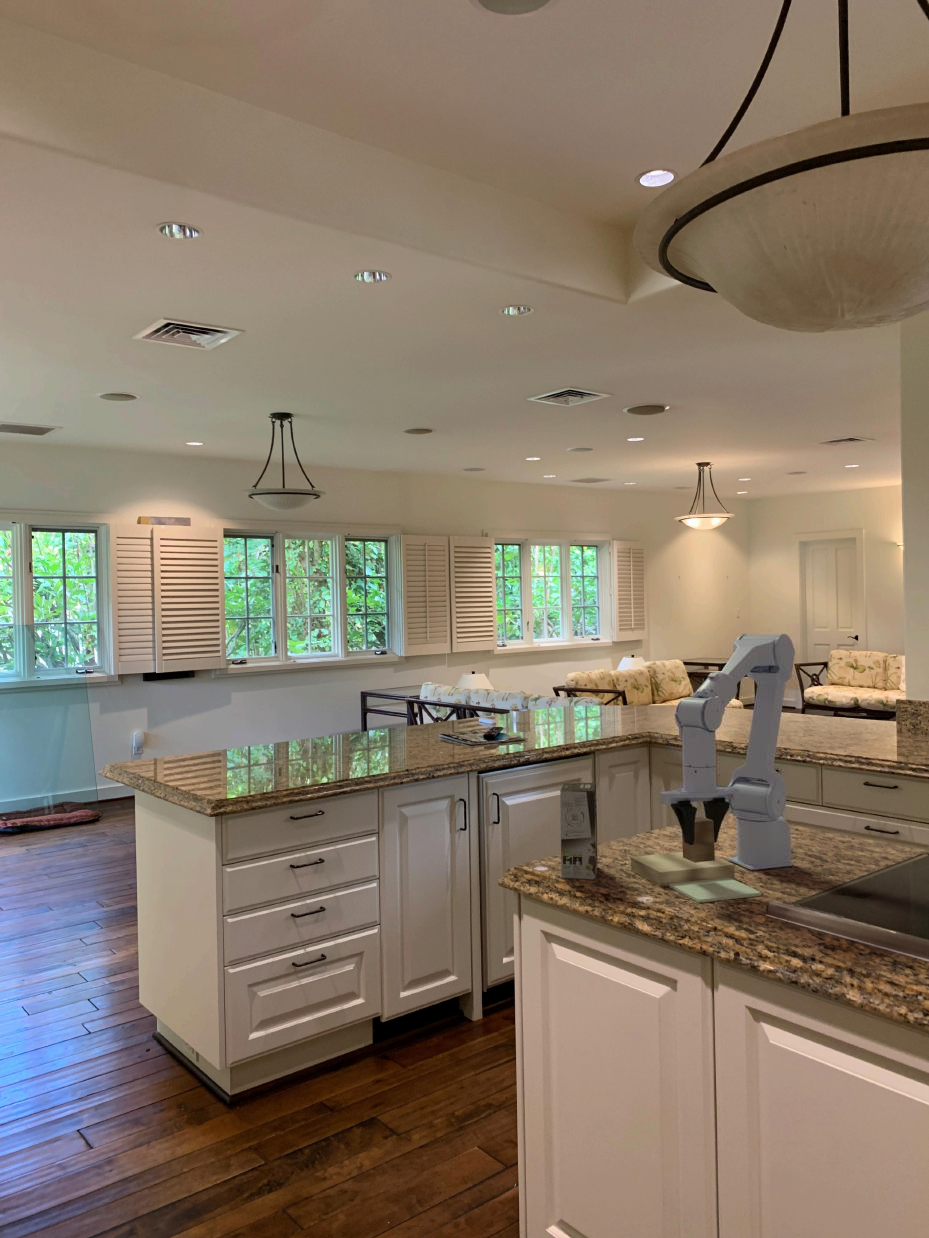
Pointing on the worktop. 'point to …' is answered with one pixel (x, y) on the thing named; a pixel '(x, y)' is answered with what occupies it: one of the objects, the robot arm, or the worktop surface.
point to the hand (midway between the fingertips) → (700, 842)
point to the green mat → (714, 889)
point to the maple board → (679, 868)
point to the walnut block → (701, 842)
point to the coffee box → (578, 831)
